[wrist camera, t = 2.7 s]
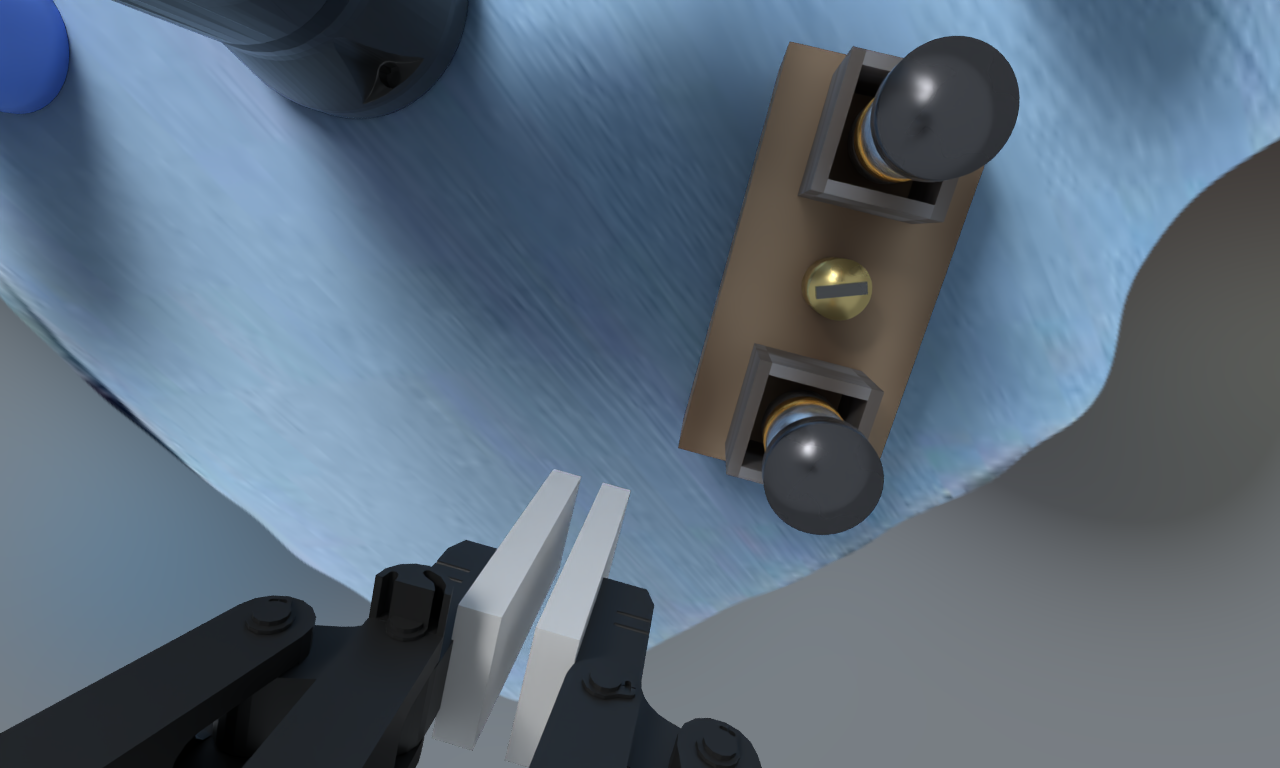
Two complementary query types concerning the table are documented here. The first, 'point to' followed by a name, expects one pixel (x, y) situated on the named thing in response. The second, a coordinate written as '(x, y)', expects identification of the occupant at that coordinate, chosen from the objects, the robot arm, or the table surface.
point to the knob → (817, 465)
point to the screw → (837, 288)
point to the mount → (804, 233)
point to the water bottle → (31, 54)
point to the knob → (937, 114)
